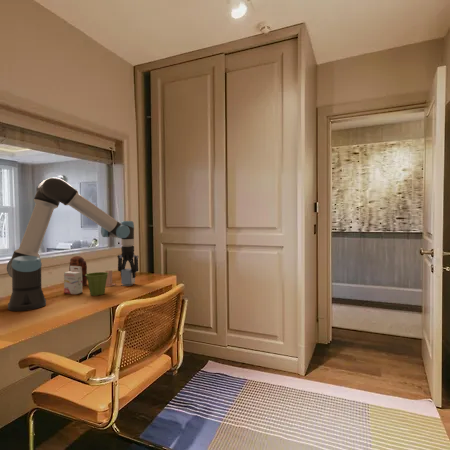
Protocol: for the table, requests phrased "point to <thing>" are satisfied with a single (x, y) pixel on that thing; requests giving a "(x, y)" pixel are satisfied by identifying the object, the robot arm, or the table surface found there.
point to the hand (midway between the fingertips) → (128, 282)
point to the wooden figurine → (80, 262)
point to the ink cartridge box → (73, 280)
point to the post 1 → (109, 278)
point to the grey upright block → (126, 276)
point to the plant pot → (97, 282)
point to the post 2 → (127, 284)
